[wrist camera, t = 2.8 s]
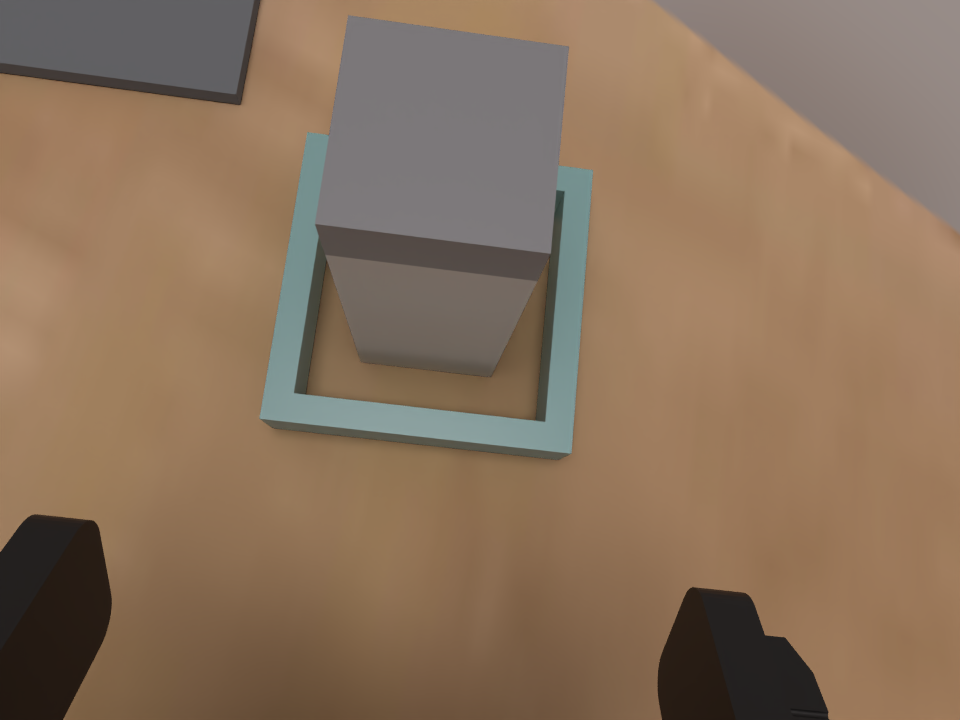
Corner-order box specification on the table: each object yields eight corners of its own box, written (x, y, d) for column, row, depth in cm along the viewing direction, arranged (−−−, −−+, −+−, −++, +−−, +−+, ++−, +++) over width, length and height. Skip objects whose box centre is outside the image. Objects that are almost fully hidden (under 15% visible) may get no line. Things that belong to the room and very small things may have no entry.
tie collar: (272, 428, 23) (259, 418, 21) (315, 163, 25) (307, 132, 23) (558, 459, 23) (571, 453, 22) (579, 197, 25) (593, 170, 23)
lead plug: (361, 362, 24) (315, 223, 13) (378, 239, 25) (348, 15, 14) (490, 377, 24) (550, 254, 13) (503, 255, 25) (568, 46, 14)
